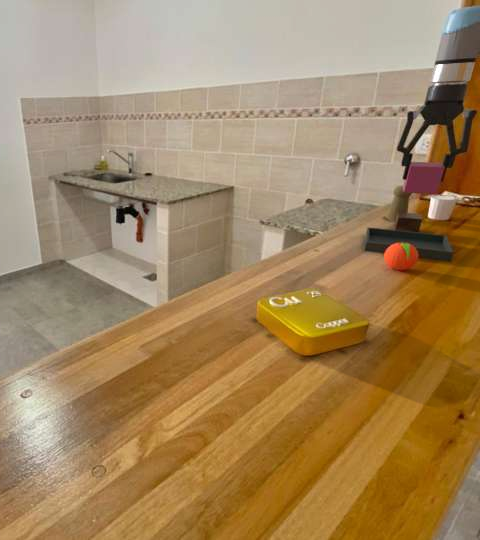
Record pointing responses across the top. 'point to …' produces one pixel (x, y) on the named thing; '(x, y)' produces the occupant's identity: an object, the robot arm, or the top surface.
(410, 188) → the mulberry cube
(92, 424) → the top surface
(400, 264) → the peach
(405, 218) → the walnut block
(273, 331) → the element tile
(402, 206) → the cork
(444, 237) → the tray
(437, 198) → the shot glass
